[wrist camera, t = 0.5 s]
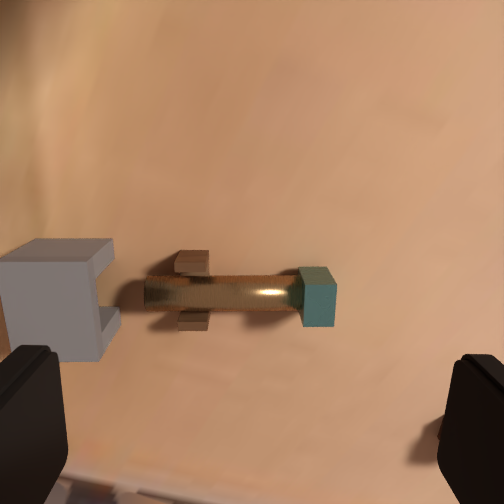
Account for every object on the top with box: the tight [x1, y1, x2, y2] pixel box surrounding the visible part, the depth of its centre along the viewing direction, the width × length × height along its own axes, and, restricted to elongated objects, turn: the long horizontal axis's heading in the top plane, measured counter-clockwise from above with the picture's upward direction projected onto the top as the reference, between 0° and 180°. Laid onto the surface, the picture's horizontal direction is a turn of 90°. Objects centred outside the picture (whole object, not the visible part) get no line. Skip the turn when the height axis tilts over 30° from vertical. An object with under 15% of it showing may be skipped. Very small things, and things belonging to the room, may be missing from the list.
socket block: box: [0, 239, 121, 362], centre depth 41 cm, size 10×8×8 cm
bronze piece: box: [144, 267, 337, 327], centre depth 41 cm, size 4×18×5 cm, turn 90°
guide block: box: [174, 250, 210, 331], centre depth 43 cm, size 7×3×4 cm, turn 0°
